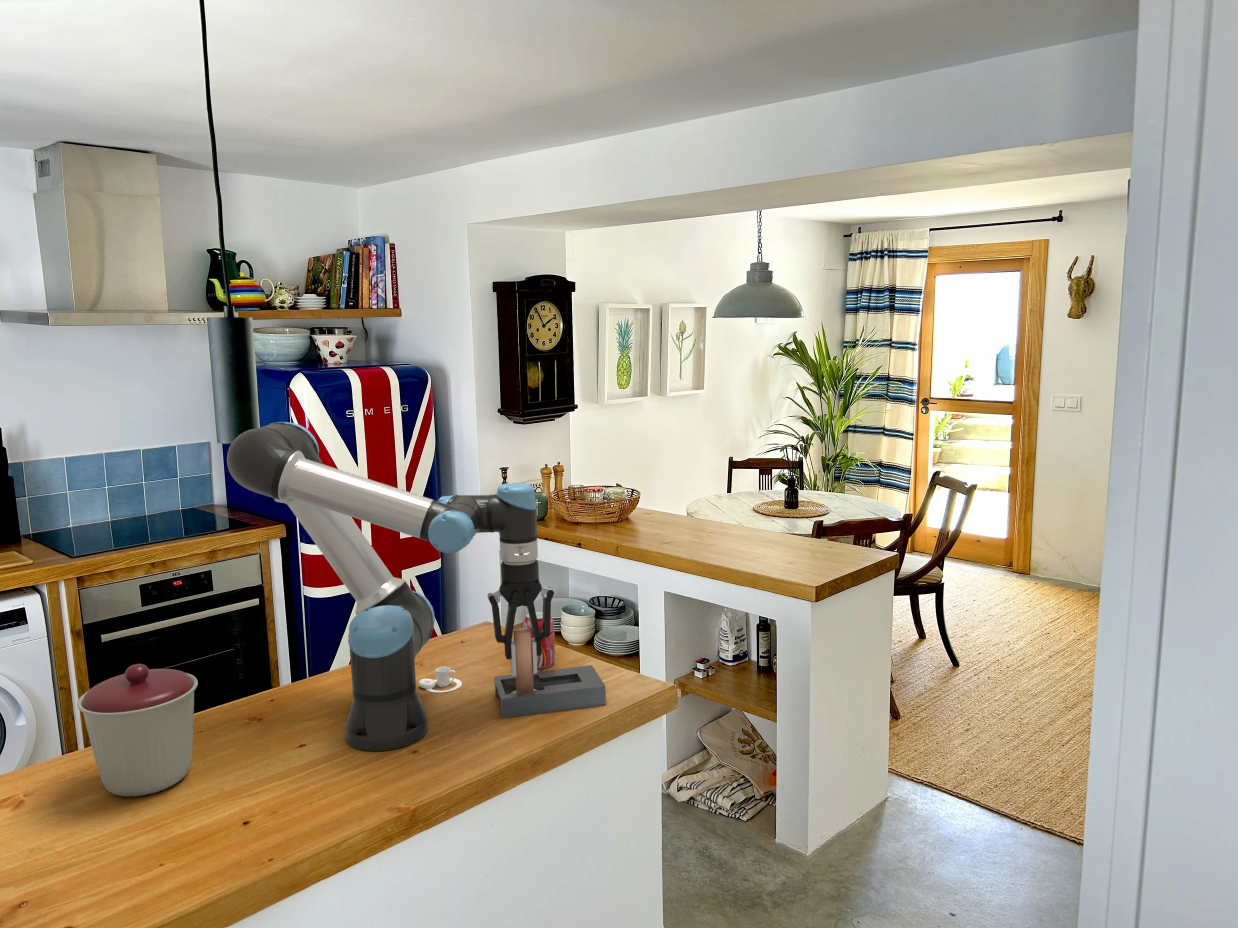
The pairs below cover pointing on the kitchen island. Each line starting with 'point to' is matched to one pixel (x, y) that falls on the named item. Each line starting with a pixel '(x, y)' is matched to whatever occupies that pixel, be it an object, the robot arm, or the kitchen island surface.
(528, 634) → the terracotta peg
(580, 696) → the keyhole plate
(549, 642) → the soda can
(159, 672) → the canister
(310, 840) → the kitchen island surface
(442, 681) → the teacup and saucer
